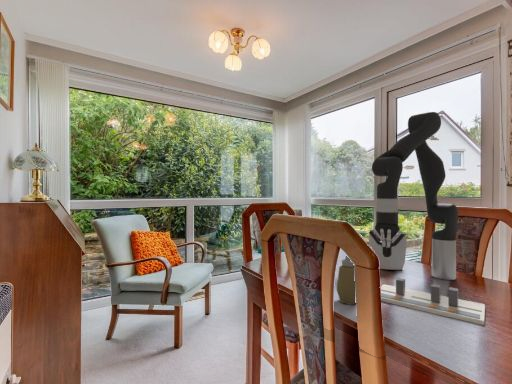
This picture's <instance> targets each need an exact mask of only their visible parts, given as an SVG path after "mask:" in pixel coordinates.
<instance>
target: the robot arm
mask: <svg viewBox="0 0 512 384" xmlns="http://www.w3.org/2000/svg"><path fill="white" fill-rule="evenodd" d="M441 125H442V119H441V116H440V114H439V113H438V112H436V111H427V112H423V113H418V114H413V115H410V116H409V118H408V121H407V129H408V134H406V135H405V136H402V138H400V139H399V140H397V141H396V142H395V143H393V146H392V147H391V148H390V149H389V150H387V151H386V152H384V153H382V154H380V155H379V156H378V157H376V158H375V159H374V160H373V162H372V165H371V171H372V173H373V174H374V175H375V177H376V176H377V177H386V180H385V181H384V182H380V183H378V184H377V186H376V202H375V203H376V204H375V226H374V228H373V229H371V230H372V231H370V230H369V234H370V235H371V236H372V237H373V239H374V240H375V241H376V243H377V244H378V245H381V246H382V247H383V255H384V257H390V256H391V255H392V247H393V246H396V245H397V244H398V243H399V242H400V241H401V240H402V239H403V238H404V237H405V236H406V237H407V233H406V232H403V231H401V230H400V226H399V201H398V189H399V183H400V180H401V177H402V174H403V168H404V166H403V165H404V162H405V161H406V160H407V159H408V158H409V157H410V155H412V153H413V152H415V155H416V160H417V163H418V170H419V175H420V178H421V182H422V186H423V187H422V188H423V191H424V195H425V203H426V204H425V205H426V212H427V217H428V220H429V221H430V222H431V223H432V224H440V225H444V227H443V228H442V229H440V230H436V231H432V233H431V277H433V278H436V279H440V280H446V281H455V280H456V279H457V233H458V221H459V220H458V219H459V210H458V209H459V208H458V207H457V206H456V204H453V203H439V202H438V193H439V191H440V189H441V187H442V186H443V183H444V182H445V179H446V170H445V165H444V162H443V160H442V158H441V157H440V156H439V155H438V154H437V153H436V152H435V151H433V149H432V148H431V147H430V146H429V144H428V143H427V140H429V139H430V138H432V136H434V135H436V133H438V132H439V130H440V128H441V127H442V126H441ZM376 231H377V232H378V234H379V235H380V236H381V240H380V238H379V237H378V236H377V232H376ZM397 233H398V235H397V236H398V238H397V239H396V240H395V241H394V242H393V243H392V241H393V237H394V236H395V235H396V234H397Z"/></svg>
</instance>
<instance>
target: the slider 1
mask: <svg viewBox="0 0 512 384" xmlns="http://www.w3.org/2000/svg"><path fill="white" fill-rule="evenodd" d="M395 287H396V294H401V295H404V294H405V289H406V279H405V278H402V277H397V278H396V280H395Z"/></svg>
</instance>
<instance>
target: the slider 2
mask: <svg viewBox="0 0 512 384" xmlns="http://www.w3.org/2000/svg"><path fill="white" fill-rule="evenodd" d="M448 297H449V303H448V305H452V306H458V299H459V288H455V287H452V286H451V287H450V286H449V288H448Z"/></svg>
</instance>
